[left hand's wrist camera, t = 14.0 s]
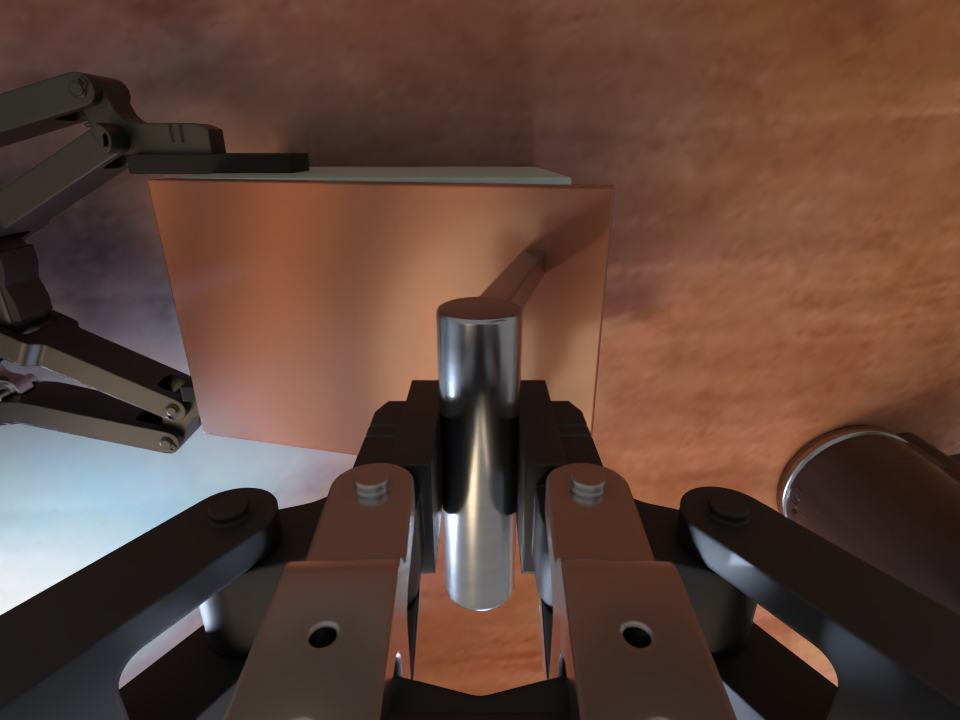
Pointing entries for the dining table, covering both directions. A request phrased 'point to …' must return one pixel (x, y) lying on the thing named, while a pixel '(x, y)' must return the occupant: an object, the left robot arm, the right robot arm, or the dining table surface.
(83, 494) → the dining table surface
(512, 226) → the lid
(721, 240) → the dining table surface
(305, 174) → the chest
